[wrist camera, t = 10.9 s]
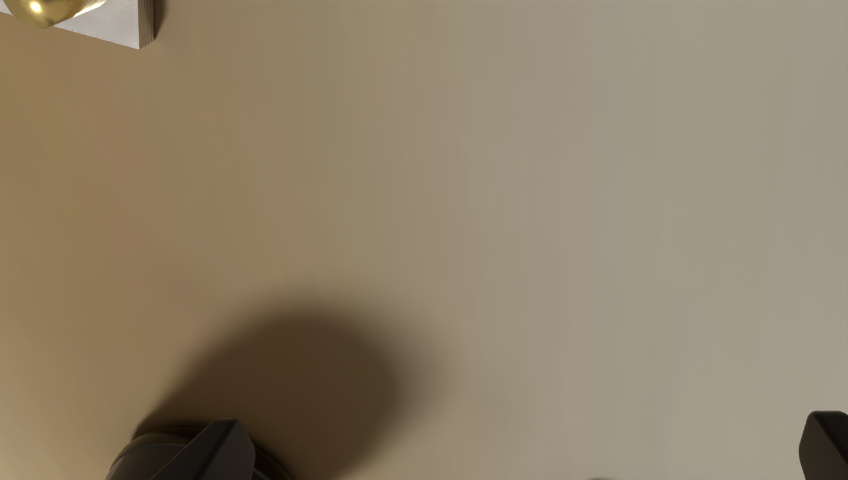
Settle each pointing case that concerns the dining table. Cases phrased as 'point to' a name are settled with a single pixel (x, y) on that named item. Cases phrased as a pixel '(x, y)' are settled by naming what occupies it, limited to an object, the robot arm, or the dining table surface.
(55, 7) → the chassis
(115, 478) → the supplement container
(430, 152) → the dining table surface
